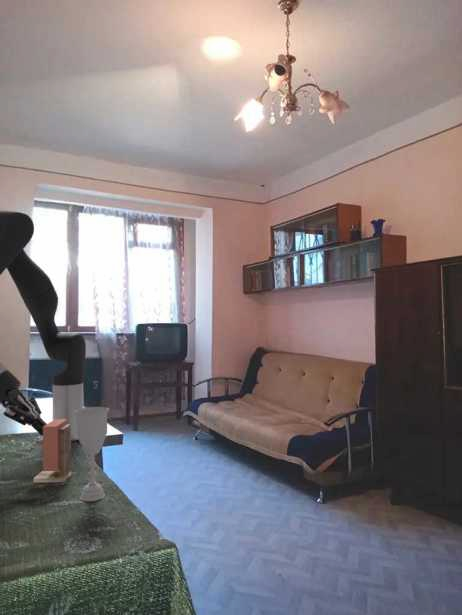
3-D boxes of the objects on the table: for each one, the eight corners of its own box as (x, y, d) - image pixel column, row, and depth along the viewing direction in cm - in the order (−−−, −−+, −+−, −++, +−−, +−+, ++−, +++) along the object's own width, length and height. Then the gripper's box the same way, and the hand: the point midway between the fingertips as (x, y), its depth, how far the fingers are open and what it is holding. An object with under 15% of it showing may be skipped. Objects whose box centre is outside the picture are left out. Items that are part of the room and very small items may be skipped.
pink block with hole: (55, 460, 112) (55, 419, 112) (67, 460, 112) (67, 419, 113) (43, 471, 104) (42, 426, 104) (56, 470, 104) (56, 426, 105)
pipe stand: (41, 475, 111) (41, 425, 111) (71, 474, 111) (70, 424, 111) (33, 482, 106) (33, 430, 106) (64, 481, 106) (63, 429, 106)
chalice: (116, 492, 99) (116, 407, 99) (97, 504, 92) (97, 414, 93) (88, 489, 101) (87, 406, 101) (67, 500, 94) (66, 412, 95)
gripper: (-9, 372, 102) (47, 427, 102) (17, 366, 115) (67, 415, 115) (-33, 396, 102) (23, 451, 102) (-4, 388, 115) (46, 436, 115)
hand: (46, 432), depth 108 cm, fingers closed
